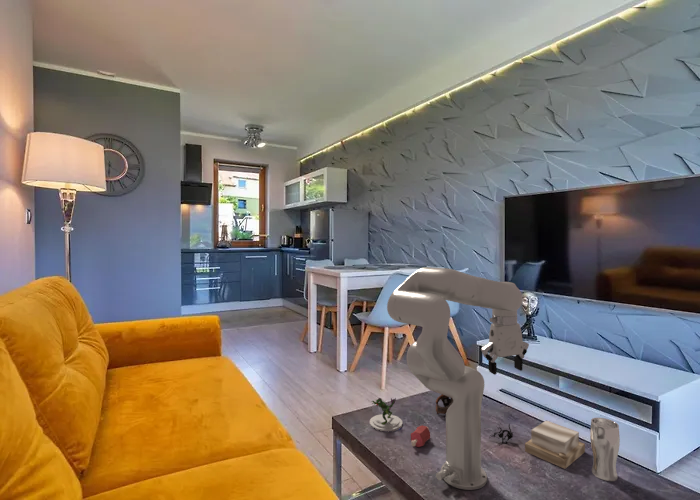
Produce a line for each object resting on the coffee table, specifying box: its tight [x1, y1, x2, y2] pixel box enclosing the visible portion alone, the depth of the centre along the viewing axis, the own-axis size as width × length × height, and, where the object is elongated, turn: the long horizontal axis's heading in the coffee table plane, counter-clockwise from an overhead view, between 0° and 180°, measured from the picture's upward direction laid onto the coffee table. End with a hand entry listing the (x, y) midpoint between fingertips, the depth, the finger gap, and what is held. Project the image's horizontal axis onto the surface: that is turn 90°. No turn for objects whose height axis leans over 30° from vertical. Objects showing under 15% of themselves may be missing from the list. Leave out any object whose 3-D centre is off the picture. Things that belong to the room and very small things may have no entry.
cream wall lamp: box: [524, 420, 586, 470], centre depth 121 cm, size 14×12×7 cm
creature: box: [488, 423, 514, 447], centre depth 128 cm, size 8×5×8 cm
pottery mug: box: [435, 394, 453, 415], centre depth 150 cm, size 12×10×8 cm
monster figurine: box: [369, 397, 403, 433], centre depth 141 cm, size 12×12×10 cm
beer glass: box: [589, 417, 621, 482], centre depth 109 cm, size 7×7×15 cm
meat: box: [410, 425, 431, 448], centre depth 128 cm, size 12×5×5 cm, turn 145°
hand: (505, 371), depth 127 cm, fingers open, 9 cm apart
